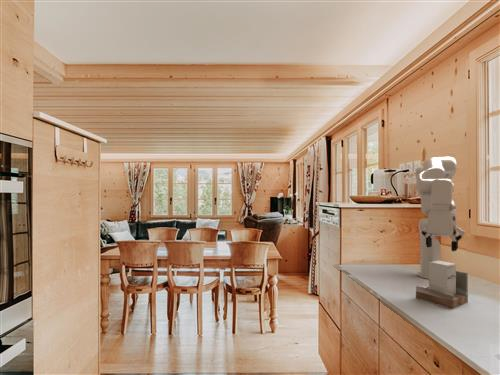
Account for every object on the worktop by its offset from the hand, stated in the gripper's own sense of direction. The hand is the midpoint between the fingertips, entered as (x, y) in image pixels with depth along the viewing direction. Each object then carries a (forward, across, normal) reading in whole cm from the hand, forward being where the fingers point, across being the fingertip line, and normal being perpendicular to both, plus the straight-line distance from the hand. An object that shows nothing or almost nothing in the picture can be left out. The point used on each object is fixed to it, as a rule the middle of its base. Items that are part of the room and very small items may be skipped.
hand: (441, 248), depth 128 cm
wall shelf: (+21, 0, +1) cm, 21 cm away
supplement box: (+18, -1, 0) cm, 19 cm away
